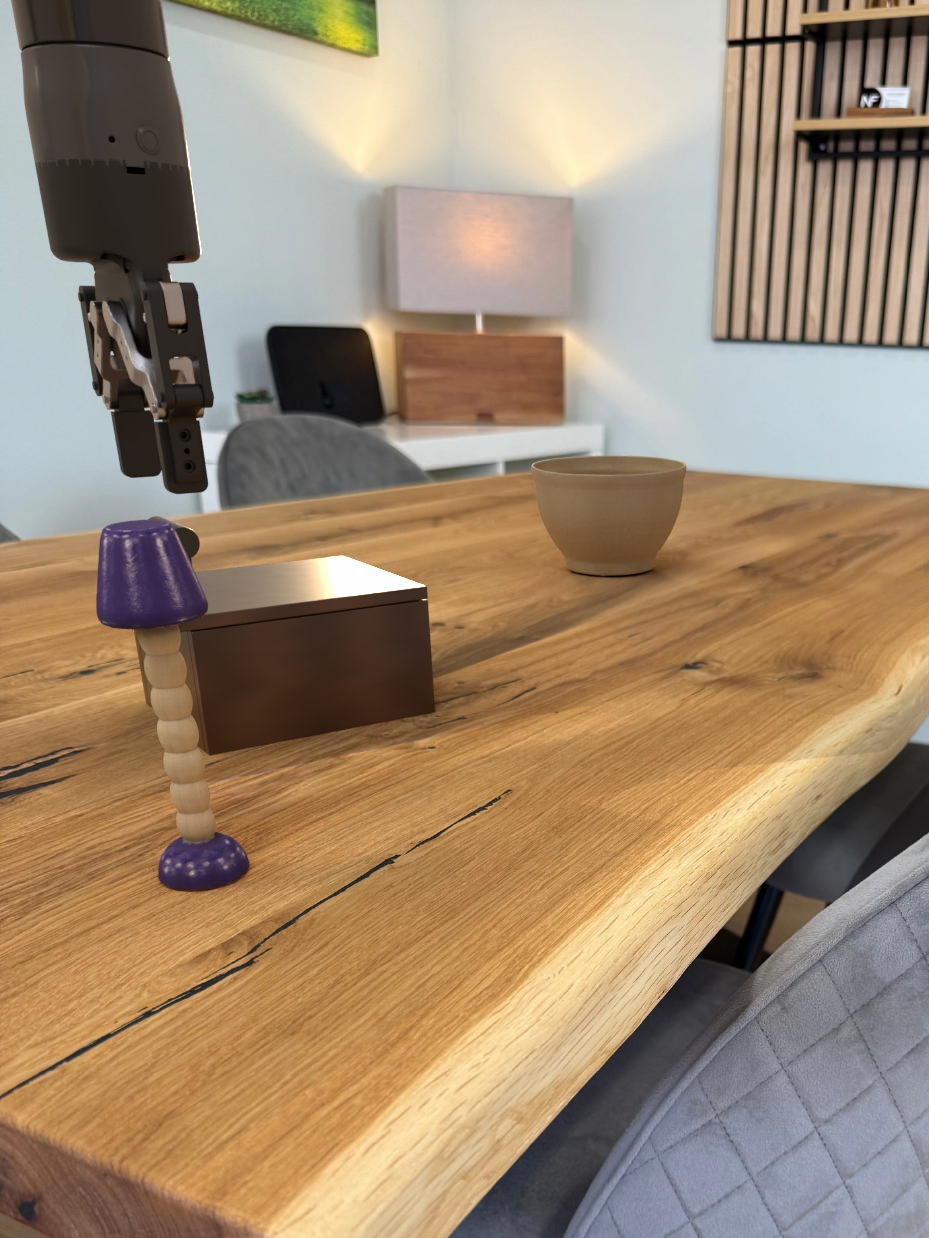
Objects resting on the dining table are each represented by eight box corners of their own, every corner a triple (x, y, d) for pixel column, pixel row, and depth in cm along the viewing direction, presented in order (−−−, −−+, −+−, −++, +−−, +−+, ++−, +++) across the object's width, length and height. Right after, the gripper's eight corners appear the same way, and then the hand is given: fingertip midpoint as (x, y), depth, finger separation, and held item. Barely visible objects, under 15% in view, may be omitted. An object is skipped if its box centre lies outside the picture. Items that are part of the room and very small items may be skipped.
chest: (213, 780, 71) (191, 632, 67) (149, 726, 80) (127, 592, 76) (437, 735, 78) (428, 599, 75) (355, 690, 88) (344, 567, 84)
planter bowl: (519, 559, 135) (515, 457, 130) (656, 552, 139) (657, 453, 135) (555, 588, 121) (552, 475, 116) (705, 579, 125) (708, 470, 121)
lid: (176, 633, 66) (162, 540, 64) (113, 593, 76) (99, 511, 74) (428, 599, 75) (423, 516, 73) (344, 567, 84) (337, 492, 82)
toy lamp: (192, 903, 56) (132, 535, 49) (123, 881, 58) (56, 526, 51) (268, 865, 60) (222, 520, 53) (201, 846, 62) (149, 512, 55)
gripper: (6, 168, 66) (64, 477, 73) (69, 140, 55) (131, 504, 62) (147, 176, 70) (190, 468, 77) (231, 152, 59) (273, 493, 66)
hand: (164, 484), depth 69 cm, fingers open, 8 cm apart
